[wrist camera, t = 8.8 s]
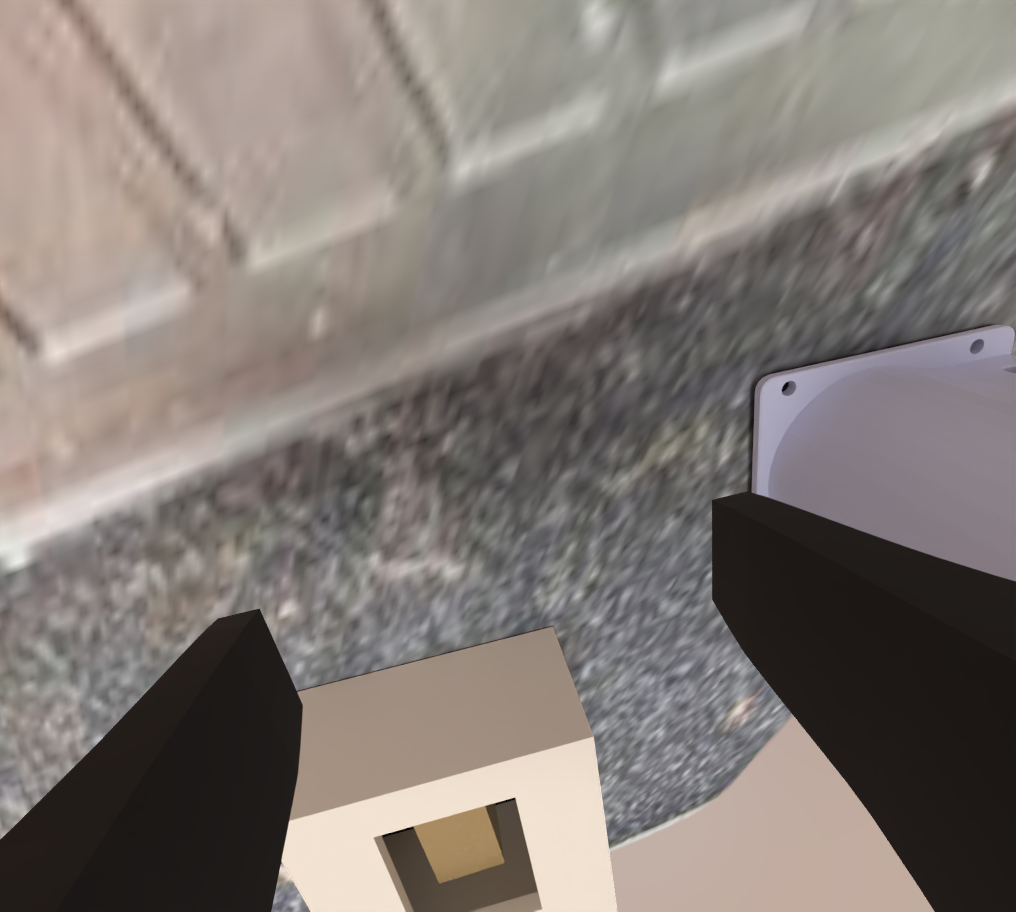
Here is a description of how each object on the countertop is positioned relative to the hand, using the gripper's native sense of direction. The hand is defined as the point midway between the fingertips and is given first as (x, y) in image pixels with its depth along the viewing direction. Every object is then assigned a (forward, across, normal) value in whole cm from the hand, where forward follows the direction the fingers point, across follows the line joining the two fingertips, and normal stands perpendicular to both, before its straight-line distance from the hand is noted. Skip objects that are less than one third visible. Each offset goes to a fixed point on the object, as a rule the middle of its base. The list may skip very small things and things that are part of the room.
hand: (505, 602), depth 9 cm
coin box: (+9, +3, +14) cm, 18 cm away
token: (+10, +3, +14) cm, 18 cm away
